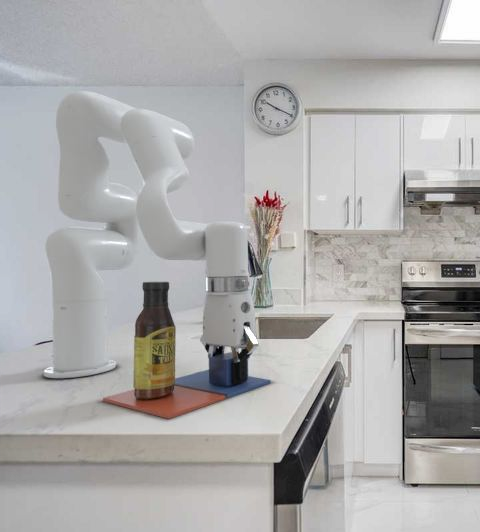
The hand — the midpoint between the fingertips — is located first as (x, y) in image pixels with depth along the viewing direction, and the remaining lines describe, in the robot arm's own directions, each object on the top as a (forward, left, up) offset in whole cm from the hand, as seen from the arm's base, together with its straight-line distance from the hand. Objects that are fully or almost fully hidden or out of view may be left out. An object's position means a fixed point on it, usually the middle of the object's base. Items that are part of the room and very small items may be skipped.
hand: (228, 379), depth 80 cm
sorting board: (-3, -6, -1) cm, 6 cm away
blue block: (0, 0, 0) cm, 0 cm away
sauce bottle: (-5, -11, -1) cm, 12 cm away
